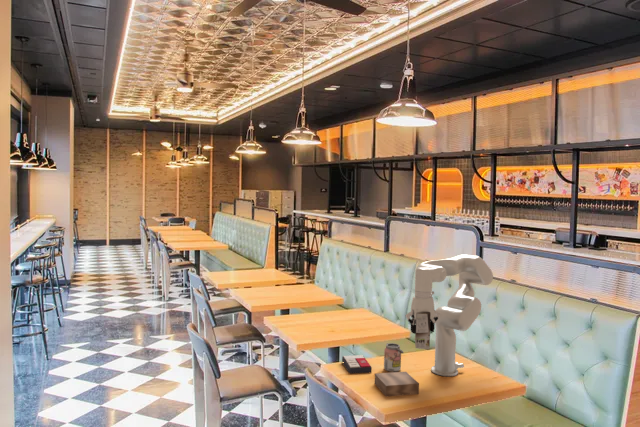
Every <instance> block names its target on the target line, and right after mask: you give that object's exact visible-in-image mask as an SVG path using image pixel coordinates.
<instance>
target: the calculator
mask: <svg viewBox="0 0 640 427" xmlns="http://www.w3.org/2000/svg"><path fill="white" fill-rule="evenodd" d="M342 362H344V363H342ZM341 363H342V365H343V366H344V368H345V370H346V371H347V372H348V374H367V373H369V372H370V373H372V368H373V367H372V366H371V364H370V362H368V360H367V359H366V358H365V356H364V355H363V354H359V355H358V354H356V355H342V361H341Z"/></svg>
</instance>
